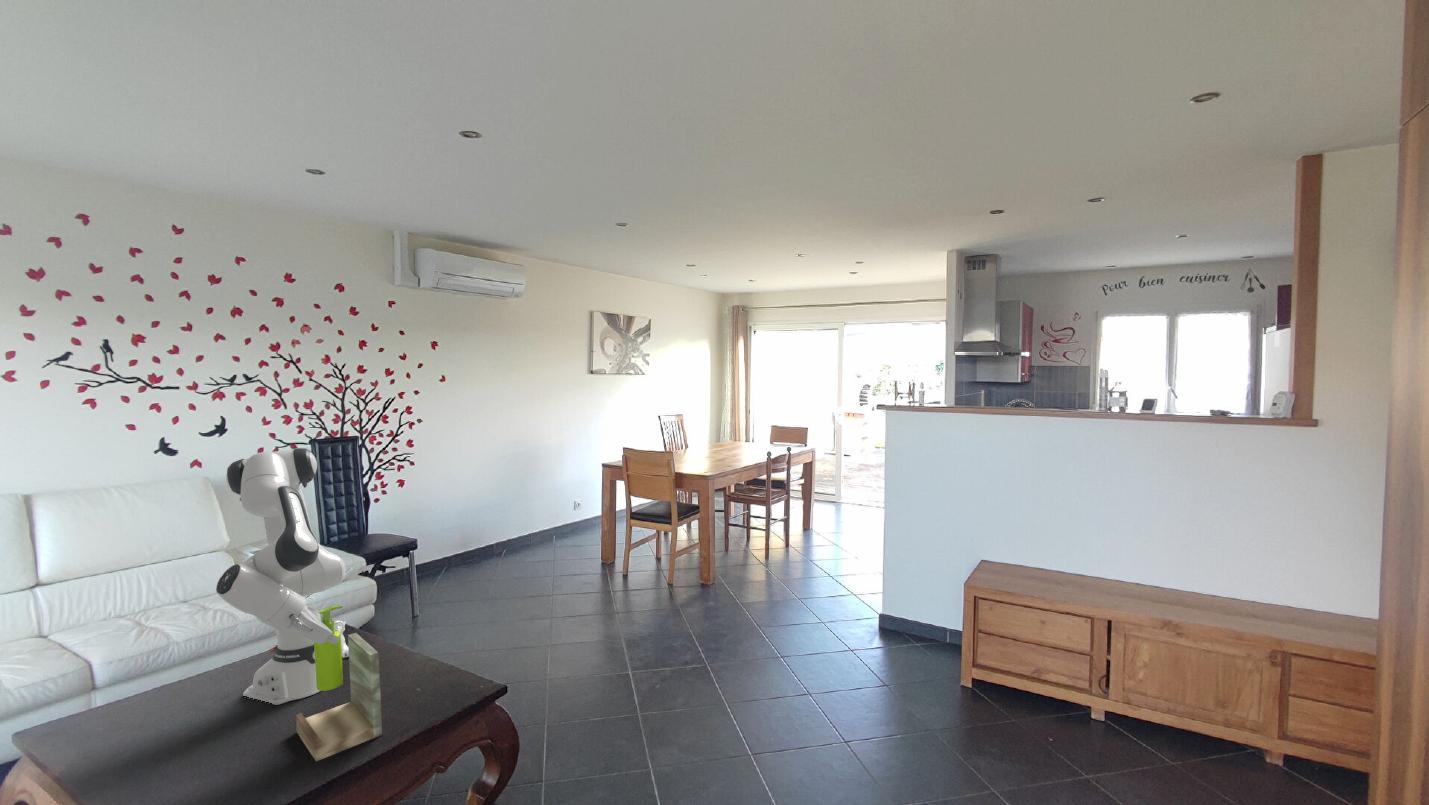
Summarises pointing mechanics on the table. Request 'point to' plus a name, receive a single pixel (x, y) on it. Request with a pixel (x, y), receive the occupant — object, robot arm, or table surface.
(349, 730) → the wall board
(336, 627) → the white creature statuette
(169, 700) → the table surface
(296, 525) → the robot arm
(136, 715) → the table surface
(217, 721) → the table surface
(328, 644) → the soap dispenser
